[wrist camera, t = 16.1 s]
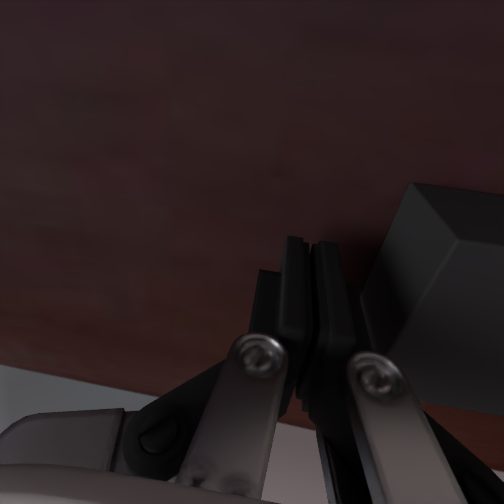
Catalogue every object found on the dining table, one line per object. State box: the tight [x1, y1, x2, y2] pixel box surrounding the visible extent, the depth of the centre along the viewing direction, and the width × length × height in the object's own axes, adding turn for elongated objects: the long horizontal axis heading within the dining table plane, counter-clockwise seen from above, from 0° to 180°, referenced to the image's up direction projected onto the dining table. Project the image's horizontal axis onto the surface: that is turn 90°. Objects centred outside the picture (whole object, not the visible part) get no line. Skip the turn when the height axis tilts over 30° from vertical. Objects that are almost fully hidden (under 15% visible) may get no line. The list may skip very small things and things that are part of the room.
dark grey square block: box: [359, 183, 504, 416], centre depth 10 cm, size 6×6×4 cm
